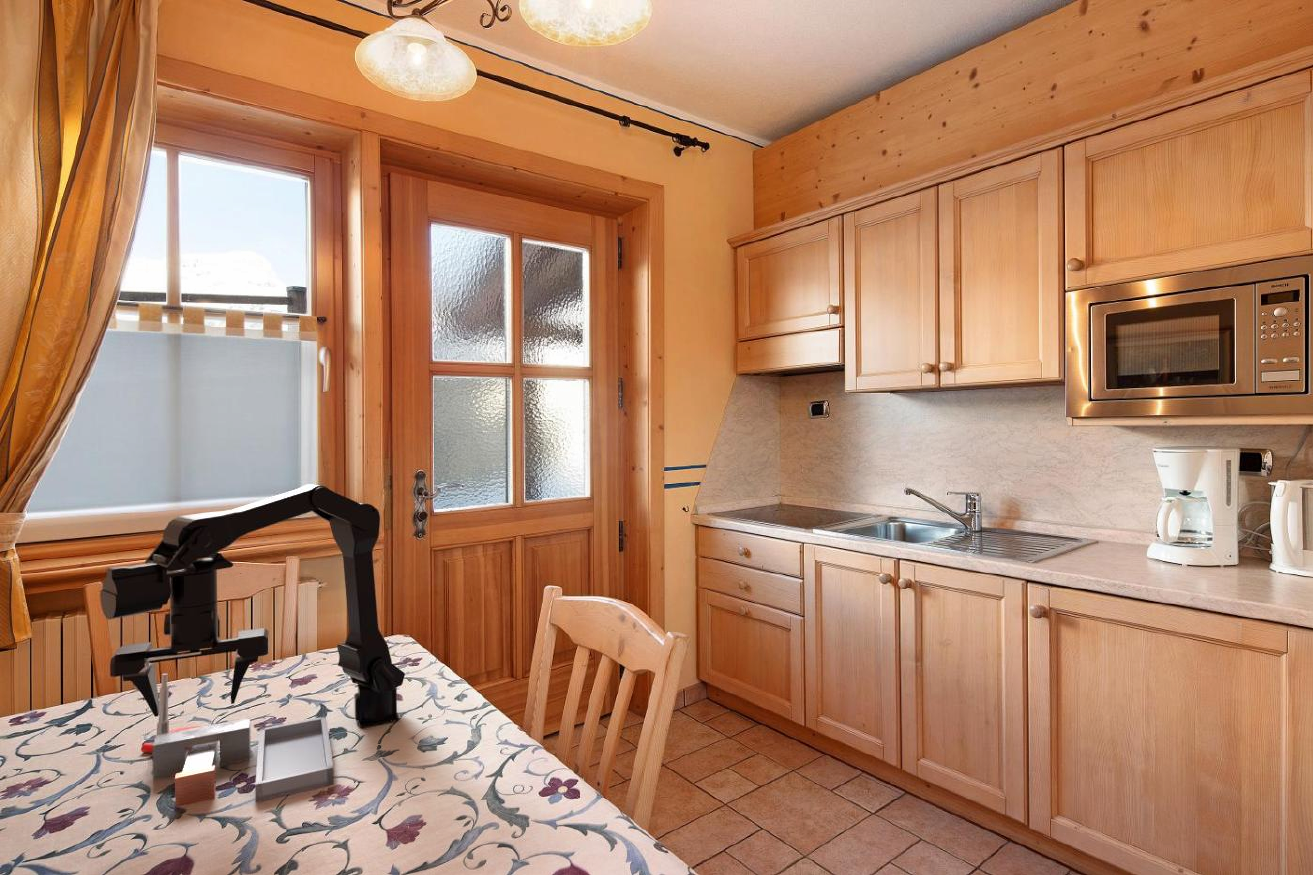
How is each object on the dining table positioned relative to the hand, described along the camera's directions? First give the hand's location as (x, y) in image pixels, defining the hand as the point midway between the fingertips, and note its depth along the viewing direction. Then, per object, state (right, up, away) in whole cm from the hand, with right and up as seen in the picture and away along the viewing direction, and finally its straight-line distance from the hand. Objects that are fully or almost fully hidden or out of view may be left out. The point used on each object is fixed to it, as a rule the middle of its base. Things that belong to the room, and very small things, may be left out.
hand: (195, 709), depth 99 cm
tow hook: (-13, -12, +15) cm, 23 cm away
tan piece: (-2, -12, +4) cm, 13 cm away
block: (-4, -12, +8) cm, 15 cm away
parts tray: (+10, -12, +8) cm, 18 cm away
